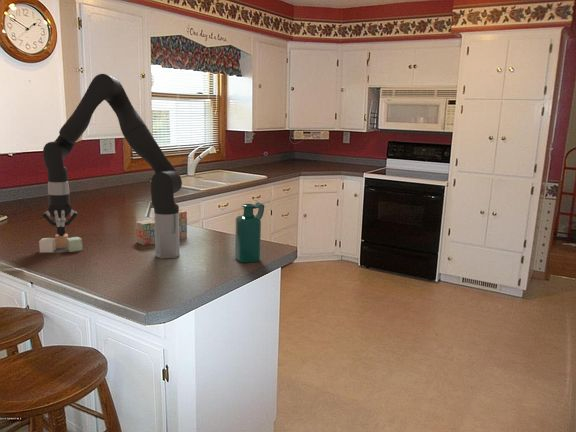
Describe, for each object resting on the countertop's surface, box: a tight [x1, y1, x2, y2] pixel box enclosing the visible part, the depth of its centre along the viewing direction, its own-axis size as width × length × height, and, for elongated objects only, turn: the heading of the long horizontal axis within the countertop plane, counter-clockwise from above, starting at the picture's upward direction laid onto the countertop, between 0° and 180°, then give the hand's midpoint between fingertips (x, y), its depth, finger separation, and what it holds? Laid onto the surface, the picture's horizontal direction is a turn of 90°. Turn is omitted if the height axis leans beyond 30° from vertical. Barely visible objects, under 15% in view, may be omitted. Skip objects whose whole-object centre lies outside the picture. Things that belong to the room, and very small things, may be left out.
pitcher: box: [234, 201, 265, 264], centre depth 182 cm, size 10×8×22 cm
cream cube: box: [38, 237, 56, 252], centre depth 183 cm, size 4×4×4 cm
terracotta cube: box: [54, 233, 70, 248], centre depth 190 cm, size 4×4×4 cm
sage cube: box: [66, 236, 83, 253], centre depth 186 cm, size 4×4×4 cm
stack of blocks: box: [135, 209, 188, 246], centre depth 206 cm, size 21×6×12 cm, turn 135°
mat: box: [38, 243, 84, 254], centre depth 187 cm, size 11×15×1 cm
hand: (61, 235), depth 189 cm, fingers closed
